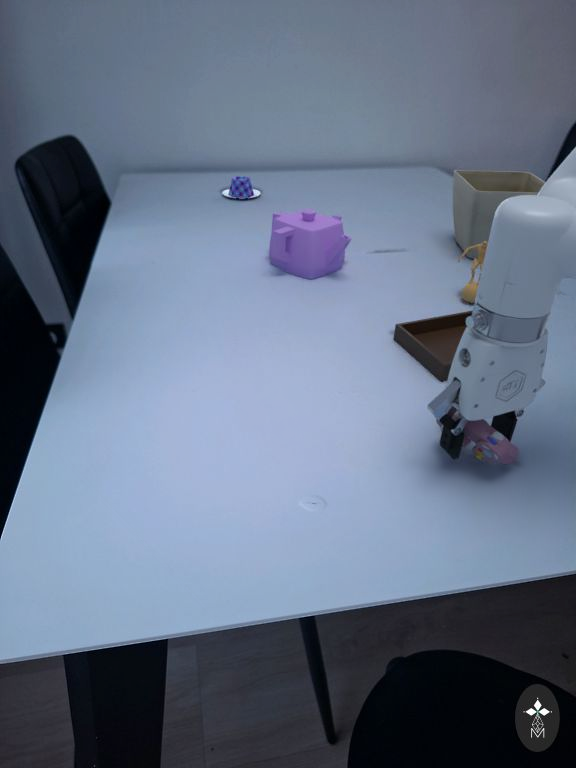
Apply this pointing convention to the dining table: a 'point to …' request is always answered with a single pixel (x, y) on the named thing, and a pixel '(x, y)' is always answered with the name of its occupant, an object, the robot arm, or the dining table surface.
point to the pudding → (241, 188)
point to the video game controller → (487, 441)
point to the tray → (433, 341)
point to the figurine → (471, 288)
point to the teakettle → (307, 243)
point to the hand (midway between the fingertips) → (474, 443)
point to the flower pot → (485, 201)
